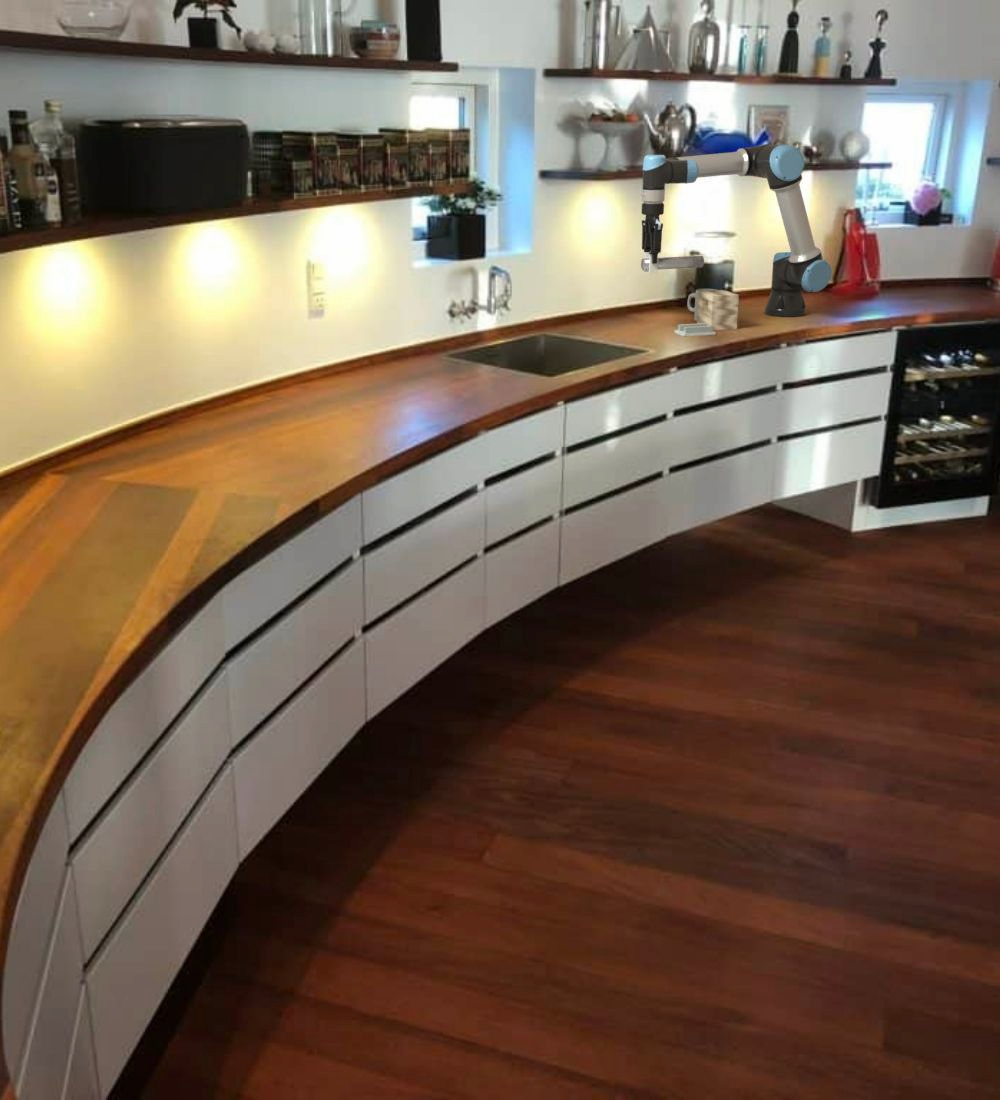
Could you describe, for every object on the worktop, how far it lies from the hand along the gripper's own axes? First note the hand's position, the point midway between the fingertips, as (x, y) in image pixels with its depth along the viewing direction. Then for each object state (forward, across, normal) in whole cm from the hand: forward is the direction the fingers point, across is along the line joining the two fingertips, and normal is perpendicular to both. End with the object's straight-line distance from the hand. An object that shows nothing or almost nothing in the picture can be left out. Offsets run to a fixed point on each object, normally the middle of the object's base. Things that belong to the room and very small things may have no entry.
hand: (650, 272), depth 421 cm
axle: (-3, 0, +8) cm, 9 cm away
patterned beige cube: (+21, -1, +27) cm, 34 cm away
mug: (+21, -16, +27) cm, 38 cm away
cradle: (+20, +9, +14) cm, 26 cm away
